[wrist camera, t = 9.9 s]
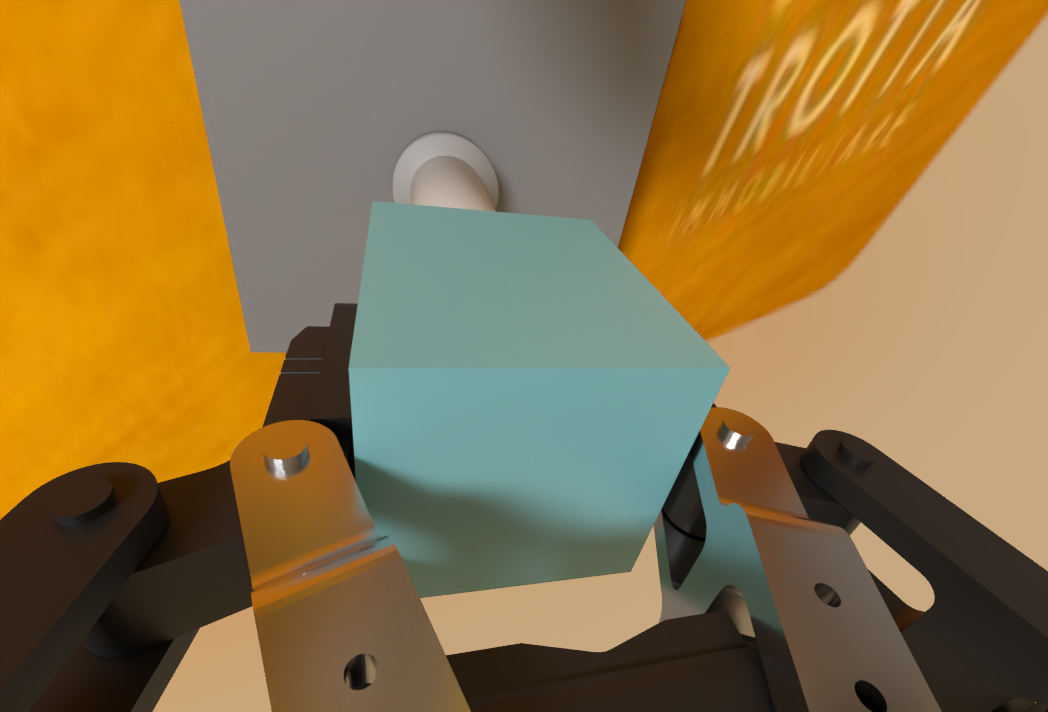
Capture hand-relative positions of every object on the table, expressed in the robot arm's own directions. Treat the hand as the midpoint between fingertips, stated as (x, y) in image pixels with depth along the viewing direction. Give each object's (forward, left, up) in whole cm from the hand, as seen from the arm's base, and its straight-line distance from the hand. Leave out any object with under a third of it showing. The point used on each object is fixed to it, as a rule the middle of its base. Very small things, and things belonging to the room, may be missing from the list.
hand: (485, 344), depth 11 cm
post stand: (0, 0, -15) cm, 15 cm away
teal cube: (0, 0, -2) cm, 2 cm away
